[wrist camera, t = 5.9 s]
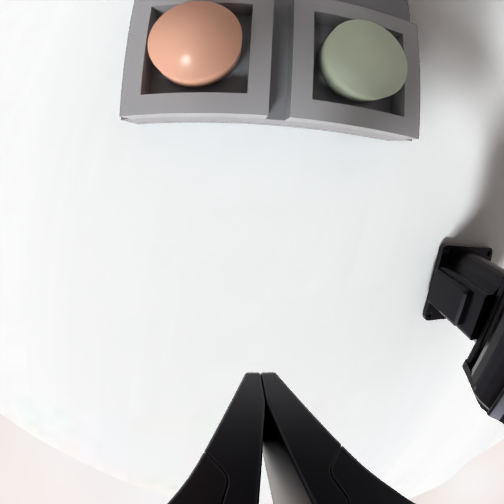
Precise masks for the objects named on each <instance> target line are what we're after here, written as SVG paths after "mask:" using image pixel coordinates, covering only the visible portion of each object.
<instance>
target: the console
mask: <svg viewBox="0 0 504 504" xmlns="http://www.w3.org/2000/svg"><path fill="white" fill-rule="evenodd" d="M191 1H210V2H214V3H217V4H220V5H222V6H224V7H226V8H227V9H229V10H230V11H231V12H232V13H233V14H234V15H235V16H236V18H237V19H238V21H239V23H240V26H241V29H242V48H241V55H240V59H239V61H238V63H237V65H236V67H235V68H234V70H233V71H232V72H231V73H230V74H229V75H228V76H227V77H225V78H224V79H223V80H221V81H219V82H217V83H215V84H213V85H210V86H206V87H201V88H189V87H183V86H180V85H177V84H175V83H173V82H172V81H170V80H169V79H168V78H166V77H165V76H164V75H163V73H162V72H161V71H160V70H159V69H158V68H157V67H156V66H155V65H154V64H153V62H152V61H151V58H150V56H149V53H148V37H149V34H150V31H151V29H152V27H153V25H154V24H155V23H156V21H157V20H158V19H159V18H160V17H161V16H162V15H163V14H164V13H165V12H167V11H168V10H170V9H171V8H173V7H175V6H177V5H180V4H183V3H186V2H191ZM354 19H360V20H367V21H371V22H374V23H376V24H378V25H380V26H382V27H383V28H385V29H386V30H387V31H389V32H390V33H391V34H392V35H393V36H394V37H395V38H396V39H397V41H398V42H399V44H400V45H401V47H402V49H403V51H404V53H405V56H406V60H407V67H408V70H407V77H406V80H405V83H404V84H403V86H402V87H401V89H400V90H399V91H398V92H396V93H395V94H393V95H391V96H388V97H385V98H381V99H378V100H375V101H371V102H366V103H359V102H353V101H350V100H347V99H345V98H343V97H341V96H340V95H338V94H337V93H335V92H334V91H333V90H332V89H331V88H330V87H329V86H328V85H327V83H326V82H325V81H324V79H323V77H322V75H321V73H320V70H319V67H318V52H319V48H320V46H321V44H322V43H323V41H324V40H325V39H326V38H327V37H328V36H329V35H330V33H331V32H332V31H333V30H334V29H335V28H336V27H337V26H338V25H340V24H341V23H343V22H345V21H348V20H354ZM120 117H121V120H124V121H128V122H132V123H136V124H146V123H173V122H220V123H247V124H264V125H277V126H289V127H299V128H309V129H317V130H325V131H333V132H340V133H347V134H353V135H359V136H365V137H371V138H377V139H382V140H387V141H412V139H419V125H420V65H419V47H418V34H417V25H416V24H413V23H410V18H409V9H408V1H407V0H135V1H134V6H133V11H132V16H131V22H130V27H129V33H128V40H127V47H126V54H125V62H124V70H123V79H122V90H121V102H120Z"/></svg>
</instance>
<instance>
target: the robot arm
mask: <svg viewBox="0 0 504 504" xmlns="http://www.w3.org/2000/svg"><path fill="white" fill-rule="evenodd" d="M445 249H446V252H445V253H444V251H445ZM491 256H492V249H491V248H489V247H486V246H472V245H459V244H443V245H441V247H440V249H439V254H438V258H437V263H436V267H435V271H434V275H433V279H432V283H431V287H430V291H429V294H428V298H427V301H426V305H425V308H424V311H423V317H424V318H425V319H426V320H436V319H446V318H447V319H448V320H449V321H450V322H451V323H452V324H453V325H455V326H457V327H458V328H459V329H460V330H461V331H462V332H463V333H464V334H465V335H466V336H467V337H468V338H469V339H470V340H474V341H475V342H476V343H475V345H474V347H473V349H472V351H471V353H470V354H469V356H468V358H467V359H466V360H465V362H464V364H463V365H462V367H463V369H464V371H465V373H466V375H467V378H468V380H469V382H470V385H471V387H472V389H473V392H474V395H475V396H476V399H477V401H478V403H479V404H480V407H481V408H482V409H484V410H485V411H486V412H487V414H488V416H490V417H492V418H495V419H497V420H499V421H500V422H502V423H503V424H504V269H503V268H501V267H499V266H498V265H496V264H494V263H492V262H491V261H490V260H491ZM262 452H263V456H264V461H265V466H266V471H267V475H268V480H269V485H270V490H271V494H272V499H273V504H415V503H413V502H411V501H410V500H408V499H407V498H405V497H404V496H402V495H401V494H400V493H398V492H397V491H395V490H394V489H392V488H391V487H390V486H388V485H387V484H386V483H384V482H383V481H381V480H380V479H379V478H377V477H376V476H375V475H374V474H372V473H371V472H370V471H369V470H367V469H366V468H365V467H364V466H362V465H361V464H360V463H359V462H358V461H357V460H356V459H355V458H354V457H353V456H352V455H351V454H350V453H349V452H348V451H347V450H346V449H345V448H344V447H343V446H342V447H341V444H340V443H339V442H338V441H337V440H336V439H335V438H334V437H333V436H332V435H331V434H330V433H329V431H328V430H327V429H326V428H325V427H324V426H323V425H322V424H321V423H320V422H319V421H318V420H317V419H316V418H315V417H314V415H313V414H312V413H311V412H310V411H309V410H308V409H307V408H306V407H305V406H304V405H303V403H302V402H301V401H300V400H299V399H298V398H297V397H296V396H295V395H294V393H293V392H292V391H291V390H290V389H289V388H288V387H287V386H286V384H285V383H284V382H283V381H282V380H281V379H280V378H279V376H278V375H277V374H276V373H273V372H269V373H261V375H260V373H246V374H245V376H244V377H243V379H242V381H241V383H240V385H239V387H238V389H237V391H236V393H235V395H234V397H233V399H232V401H231V403H230V405H229V407H228V409H227V410H226V412H225V414H224V416H223V418H222V420H221V422H220V424H219V426H218V427H217V429H216V431H215V433H214V435H213V437H212V439H211V440H210V442H209V444H208V446H207V448H206V450H205V453H203V455H202V456H201V458H200V460H199V462H198V463H197V465H196V467H195V468H194V470H193V471H192V473H191V475H190V476H189V478H188V479H187V480H186V482H185V483H184V484H183V486H182V487H181V488H180V490H179V491H178V492H177V493H176V494H175V496H174V497H173V498H172V499H171V500H170V501H169V503H168V504H259V493H260V480H261V466H262Z"/></svg>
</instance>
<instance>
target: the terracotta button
mask: <svg viewBox="0 0 504 504" xmlns="http://www.w3.org/2000/svg"><path fill="white" fill-rule="evenodd" d="M241 48H242V29H241V26H240V23H239V21H238V19H237V18H236V16H235V15H234V14H233V13H232V12H231V11H230V10H229V9H227V8H226V7H224V6H222V5H220V4H217V3H214V2H210V1H191V2H186V3H183V4H180V5H177V6H175V7H173V8H171V9H170V10H168V11H167V12H165V13H164V14H163V15H162V16H161V17H160V18H159V19H158V20H157V21H156V23H155V24H154V25H153V27H152V29H151V31H150V34H149V37H148V53H149V56H150V58H151V61H152V62H153V64H154V65H155V66H156V67H157V68H158V69H159V70H160V71H161V72H162V73H163V75H164V76H165V77H166V78H168V79H169V80H170V81H172V82H173V83H175V84H177V85H180V86H183V87H189V88H201V87H206V86H210V85H213V84H215V83H217V82H219V81H221V80H223V79H224V78H225V77H227V76H228V75H229V74H230V73H231V72H232V71H233V70H234V68H235V67H236V65H237V63H238V61H239V59H240V55H241Z"/></svg>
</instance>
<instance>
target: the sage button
mask: <svg viewBox="0 0 504 504" xmlns="http://www.w3.org/2000/svg"><path fill="white" fill-rule="evenodd" d="M318 67H319V70H320V73H321V75H322V77H323V79H324V81H325V82H326V83H327V85H328V86H329V87H330V88H331V89H332V90H333V91H334V92H335V93H337V94H338V95H340V96H341V97H343V98H345V99H347V100H350V101H353V102H359V103H366V102H371V101H375V100H378V99H381V98H385V97H388V96H391V95H393V94H395V93H396V92H398V91H399V90H400V89H401V87H402V86H403V84H404V83H405V80H406V77H407V70H408V67H407V60H406V56H405V53H404V51H403V49H402V47H401V45H400V44H399V42H398V41H397V39H396V38H395V37H394V36H393V35H392V34H391V33H390V32H389V31H387V30H386V29H385V28H383V27H382V26H380V25H378V24H376V23H374V22H371V21H367V20H360V19H354V20H348V21H345V22H343V23H341V24H340V25H338V26H337V27H336V28H335V29H334V30H333V31H332V32H331V33H330V35H329V36H328V37H327V38H326V39H325V40H324V41H323V43H322V44H321V46H320V48H319V52H318Z"/></svg>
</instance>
